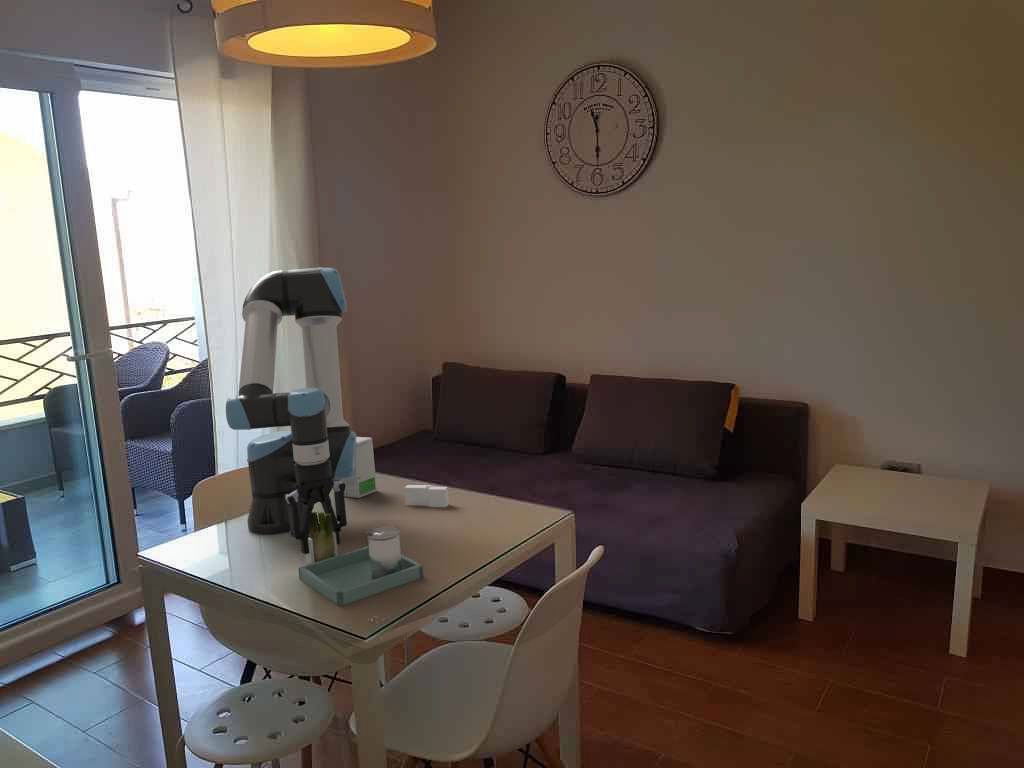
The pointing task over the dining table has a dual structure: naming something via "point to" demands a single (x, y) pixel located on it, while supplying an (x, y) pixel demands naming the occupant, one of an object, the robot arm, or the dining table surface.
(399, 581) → the tray
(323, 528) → the fennel bulb
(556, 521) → the dining table surface
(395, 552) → the can
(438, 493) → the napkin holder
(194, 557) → the dining table surface
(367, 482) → the skincare box
